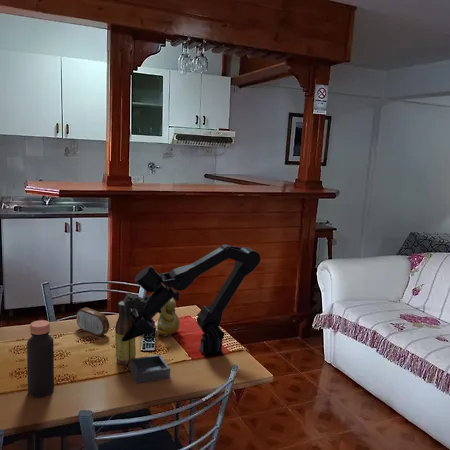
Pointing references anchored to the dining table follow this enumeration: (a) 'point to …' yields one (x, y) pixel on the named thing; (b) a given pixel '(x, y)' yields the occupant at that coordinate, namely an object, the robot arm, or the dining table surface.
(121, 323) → the sauce bottle
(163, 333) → the decorative figurine
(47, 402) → the dining table surface
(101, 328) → the wooden speaker
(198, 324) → the robot arm
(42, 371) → the dark grey water bottle
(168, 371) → the grey square tray
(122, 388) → the dining table surface
